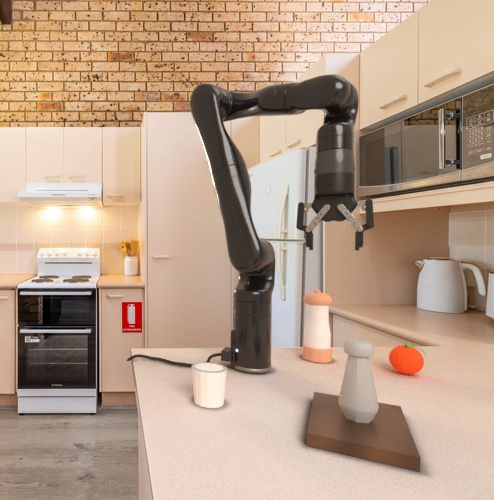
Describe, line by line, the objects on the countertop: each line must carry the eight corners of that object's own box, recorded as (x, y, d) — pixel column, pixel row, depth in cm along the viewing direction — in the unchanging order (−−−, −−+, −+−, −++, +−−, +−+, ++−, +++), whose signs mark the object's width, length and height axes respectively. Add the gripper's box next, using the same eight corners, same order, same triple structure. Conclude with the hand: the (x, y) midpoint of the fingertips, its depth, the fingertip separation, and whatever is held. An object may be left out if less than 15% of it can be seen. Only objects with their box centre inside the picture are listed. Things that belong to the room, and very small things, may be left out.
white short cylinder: (227, 398, 79) (228, 363, 79) (225, 411, 72) (225, 374, 72) (193, 393, 81) (194, 360, 81) (188, 406, 75) (188, 370, 75)
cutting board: (306, 445, 60) (306, 432, 60) (314, 401, 78) (314, 391, 78) (420, 471, 53) (420, 457, 53) (400, 417, 71) (400, 406, 71)
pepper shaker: (320, 364, 103) (321, 291, 103) (296, 357, 109) (297, 288, 109) (337, 360, 106) (338, 290, 106) (313, 354, 113) (314, 287, 112)
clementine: (416, 370, 98) (416, 342, 98) (435, 379, 91) (436, 349, 91) (382, 369, 99) (382, 341, 99) (399, 378, 92) (399, 347, 92)
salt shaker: (385, 427, 62) (386, 345, 62) (345, 424, 63) (346, 343, 63) (369, 412, 68) (370, 337, 68) (333, 409, 69) (334, 335, 69)
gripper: (372, 173, 83) (371, 250, 83) (298, 179, 90) (298, 249, 90) (375, 167, 76) (374, 250, 76) (295, 173, 83) (294, 250, 83)
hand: (333, 250), depth 83 cm, fingers open, 8 cm apart
